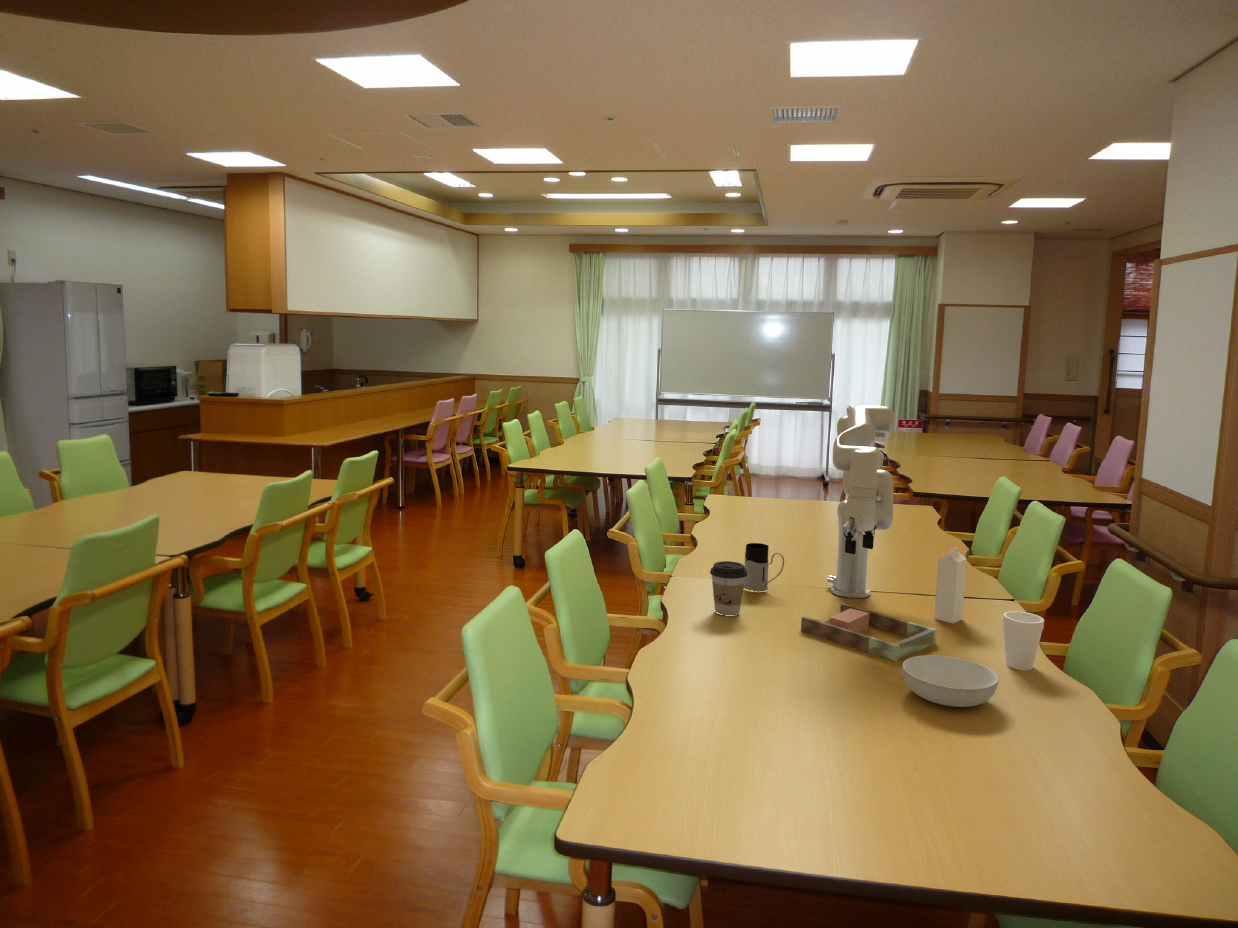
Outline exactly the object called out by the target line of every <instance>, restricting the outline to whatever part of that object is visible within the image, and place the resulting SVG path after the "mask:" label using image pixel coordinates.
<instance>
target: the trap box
mask: <svg viewBox="0 0 1238 928" xmlns="http://www.w3.org/2000/svg"><path fill="white" fill-rule="evenodd" d="M850 608H851V609H855V610H859V611H863V612H867V613H869V627H873V628H876V629H878V630H879V629H880V630H883V631H887V632H890V633H894V634H896V635H900V636H903V637H907V638H904V639H902V640H900V641H898V642H896V643H895V642H890V641H887V640H884V639H880V638H878V637H874V636H871V635H869V634H868V635H867V634H865V633H863V632H861V633H858V632H855V631H852V630H849V629H845V628H842V627H839V626H835V625H832V624H829V620H830V619H828V620H825V621H822V620H819V619H817V618H813V617H809V616H806V615H803V616H801V622H800V631H801V632H804V633H808V634H810V635H814V636H815V637H819V638H822V639H825V640H829V641H832V642H836V643H838V644H841V645H844V646H847V647H851V648H853V649H857V650H859V651H864V652H866V653H869V654H873V655H875V656H878V657H881V658H884V659H888V660H891V661H894V662H897V661H899V660H901V659H902V660H903V659H904V658H906V657H908V656H911V655H913V654H916V653H917V652H919V651H921V650H924V649H926V648H928V647H931V646H933V645H935V644H937V635H938V629H937V628H934V627H929V626H927V625H923V624H919V623H915V622H912V621H909V620H906V619H902V618H898V617H894V616H891V615H887V614H883V613H882V612H881V613H880V612H876V611H873V610H869V609H867V608H866V609H865V608H862V607H859V606H855V605H852V604H847V603H845V602H843V603H840V609H839V613H841V612H843V611H846V610H848V609H850Z"/></svg>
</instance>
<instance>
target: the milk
mask: <svg viewBox="0 0 1238 928" xmlns="http://www.w3.org/2000/svg"><path fill="white" fill-rule="evenodd" d="M967 560H968V559H967V558H966V557H965V556H964V555H962V553H960V552H959V547H958V546H956V547H952V548H951V549H948V554H947V555H944V556H942V557H938V560H937V561H938V562H937V575H936V585H935V587H936V589H935V601H934V614H933V615H934V617H933V619H934V620H937V621H940V622H945V623H949V624H956V623H957V622H960V621H962V620H963V610H964V598H965V586H966V574H967V573H966V572H967Z"/></svg>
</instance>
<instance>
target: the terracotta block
mask: <svg viewBox="0 0 1238 928" xmlns="http://www.w3.org/2000/svg"><path fill="white" fill-rule="evenodd" d="M828 620H829V624H832V625H835V626H839V627H842V628H845V629H849V630H852V631H855V632H858V633H863V632H865V631H867V630H869V627H870V626H869V613H867V612H863V611H859V610H855V609H851V608H850V609H848V610H846V611H843V612H841V613H840V612H839V613H837V614H834V615H832V616H830V617H829V619H828Z"/></svg>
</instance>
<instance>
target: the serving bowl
mask: <svg viewBox="0 0 1238 928" xmlns="http://www.w3.org/2000/svg"><path fill="white" fill-rule="evenodd" d="M902 674H903V678H904V681H905V683H906V684H907V685H906V686H908V688H909V689H910V690H911V691H912V692H914V693H915V694H916V695H917V696H919V697H920V698H922V699H924V700H926V701H929V702H931V703H933V704H934V703H935V704H938V705H942V706H946V707H947V706H948V707H956V708H957V707H958V708H968V707H975V706H979V705H982V704H984V703H986V702H987V701H988V700H990V699H991V698H992V697H993V696H994V694H995V693H996V691H997V688H998V686H999V682H1000V681H999V676H998V674H997V673H996V672H995V671H994V670H992V669H990V668H989V667H987V666H985V665H983V664H980V663H977V662H975V661H971V660H968V659H965V658H964V659H963V658H959V657H955V656H946V655H932V654H930V655H929V654H928V655H927V654H926V655H917V656H912V657H909V658H907V659H906V660H904V661H903V662H902Z"/></svg>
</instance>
